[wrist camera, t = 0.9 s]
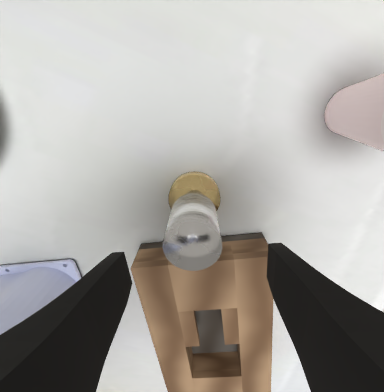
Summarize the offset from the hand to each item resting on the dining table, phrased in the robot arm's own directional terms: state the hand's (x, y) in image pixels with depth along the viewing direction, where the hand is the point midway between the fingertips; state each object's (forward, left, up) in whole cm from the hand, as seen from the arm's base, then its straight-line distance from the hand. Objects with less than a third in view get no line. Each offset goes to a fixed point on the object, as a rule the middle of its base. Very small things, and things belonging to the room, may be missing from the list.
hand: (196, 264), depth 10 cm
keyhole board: (0, -16, -10) cm, 19 cm away
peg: (0, 0, -10) cm, 10 cm away
